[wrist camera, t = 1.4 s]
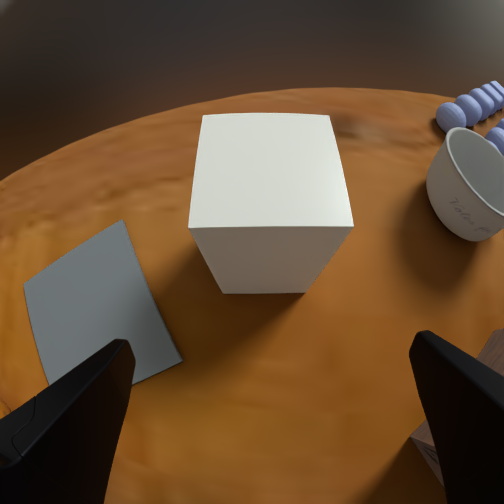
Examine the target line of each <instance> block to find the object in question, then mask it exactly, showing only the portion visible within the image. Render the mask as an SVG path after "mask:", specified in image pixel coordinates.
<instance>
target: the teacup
mask: <svg viewBox="0 0 504 504" xmlns="http://www.w3.org/2000/svg"><path fill="white" fill-rule="evenodd" d="M426 187H427V193H428V197H429V200H430V202H431V205H432V207H433V209H434V211H435V213H436V215H437V216H438V218H439V219H440V220H441V222H442V223H443V224H444V225H445V226H446V227H447V228H448V229H449V230H451V231H452V232H453V233H455V234H456V235H458V236H459V237H461V238H463V239H466V240H469V241H483V240H486V239H488V238H490V237H492V236H493V235H495V234H496V233H498V232H499V231H500V230H501V229H503V228H504V156H503V155H502V154H501V153H500V152H499V150H497V149H496V148H495V147H494V146H493V145H492V144H491V143H490V142H489V141H488V140H486V139H485V138H483V137H482V136H480V135H479V134H477V133H475V132H473V131H471V130H469V129H466V128H461V127H456V128H452V129H450V130H449V131H448V132H447V135H446V138H445V141H444V142H443V144H442V146H441V147H440V149H439V151H438V152H437V154H436V156H435V157H434V159H433V161H432V163H431V165H430V167H429V170H428V173H427V178H426Z"/></svg>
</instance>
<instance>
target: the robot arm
mask: <svg viewBox="0 0 504 504" xmlns="http://www.w3.org/2000/svg"><path fill="white" fill-rule="evenodd" d="M409 358H410V362H411V366H412V370H413V374H414V378H415V382H416V386H417V390H418V394H419V397H420V400H421V403H422V406H423V409H424V412H425V415H426V419H427V422H428V425H429V428H430V432H431V435H432V439H433V442H434V446H435V449H436V453H437V457H438V461H439V465H440V469H441V474H442V478H443V483H444V488H445V492H446V499H447V504H504V376H502V375H501V374H499V373H497V372H496V371H494V370H493V369H491V368H490V367H488V366H486V365H485V364H483V363H482V362H480V361H478V360H477V359H475V358H474V357H472V356H470V355H469V354H467V353H465V352H464V351H462V350H461V349H459V348H457V347H456V346H454V345H452V344H451V343H449V342H447V341H446V340H444V339H442V338H441V337H439V336H437V335H436V334H434V333H433V332H431V331H429V330H425V331H419V332H418V333H417V334H416V335H415V338H414V340H413V343H412V345H411V348H410V350H409ZM135 366H136V359H135V356H134V353H133V351H132V348H131V345H130V343H129V341H128V340H126V339H119V338H116V339H114V340H112V341H111V342H110V343H108V344H107V345H105V346H104V347H103V348H101V349H100V350H98V351H97V352H96V353H94V354H93V355H91V356H90V357H89V358H87V359H86V360H84V361H83V362H82V363H80V364H79V365H77V366H76V367H75V368H73V369H72V370H70V371H69V372H68V373H66V374H65V375H63V376H62V377H61V378H59V379H58V380H56V381H55V382H54V383H52V384H51V385H50V386H48V387H47V388H45V389H44V390H43V391H41V392H40V393H38V394H37V395H36V396H34V397H33V398H31V399H30V400H29V401H27V402H26V403H24V404H23V405H22V406H20V407H19V408H17V409H16V410H14V411H12V412H11V413H9V414H8V415H6V416H4V417H3V418H1V419H0V504H104V499H105V494H106V489H107V485H108V480H109V476H110V471H111V467H112V463H113V459H114V455H115V451H116V447H117V443H118V439H119V436H120V432H121V428H122V425H123V421H124V418H125V414H126V411H127V407H128V403H129V398H130V392H131V387H132V381H133V376H134V371H135Z"/></svg>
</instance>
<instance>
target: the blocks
mask: <svg viewBox="0 0 504 504" xmlns="http://www.w3.org/2000/svg"><path fill="white" fill-rule="evenodd" d="M503 106H504V89H503V87H502V86H500V85H499V84H498V83H497V82H496V81H492V82H490V84H486V85H483V86H481V88H480V89H479V88H477V89H473V90H471V91H470V93H469V95H461V96H459V97H458V98H457V99H456V100H455V102H454V103H443V104H441V105H440V107H439V108H438V109H437V112H436V120H437V123H438V125H439V127H440V128H441V129H442V130H443V131H444V132H446V133H447V132H448V131H449V130H450V129H452V128H456V127H461V128H465V127H466V126H468V127H471V126H474V125H475V124H476V123H478V121H479V120H480V121H483V120H484V119H486V118H487V117H488V116H489V114H490V115H493V114H494V113H495V112H496V111H497V110H500V109H502V108H503ZM485 139H486V140H488V141H489V142H490V143H491V144H492V145H493V146H494V147H495V148H496V149H497V150H499V152H500V153H501V154H502V155H503V156H504V118H503V119H502V120H500V122H499V123H498V124H497V126H496V127H495V128H492V129H491V130H490V131H489V132H488V133H487V135H486V137H485Z"/></svg>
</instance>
